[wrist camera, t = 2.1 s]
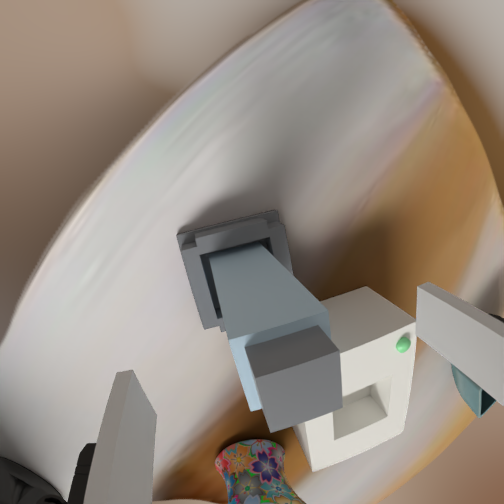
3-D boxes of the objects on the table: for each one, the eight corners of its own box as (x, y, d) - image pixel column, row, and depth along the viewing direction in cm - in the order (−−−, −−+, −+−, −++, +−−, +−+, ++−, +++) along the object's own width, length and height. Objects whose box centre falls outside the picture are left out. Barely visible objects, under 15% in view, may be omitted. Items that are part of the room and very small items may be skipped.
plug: (220, 300, 24) (260, 443, 10) (208, 254, 23) (236, 370, 9) (267, 287, 25) (353, 410, 11) (258, 241, 24) (351, 333, 10)
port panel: (289, 420, 30) (314, 475, 22) (267, 317, 26) (297, 372, 18) (369, 389, 32) (406, 433, 24) (368, 285, 28) (422, 321, 20)
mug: (206, 437, 29) (218, 514, 19) (288, 426, 30) (319, 496, 20) (216, 487, 32) (228, 549, 22) (282, 478, 33) (304, 535, 23)
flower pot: (444, 388, 36) (479, 420, 27) (437, 356, 33) (480, 390, 25) (480, 351, 36) (517, 377, 28) (477, 315, 33) (521, 340, 25)
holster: (203, 324, 25) (204, 338, 23) (176, 234, 23) (174, 241, 21) (292, 299, 26) (301, 311, 24) (275, 209, 24) (284, 213, 22)
